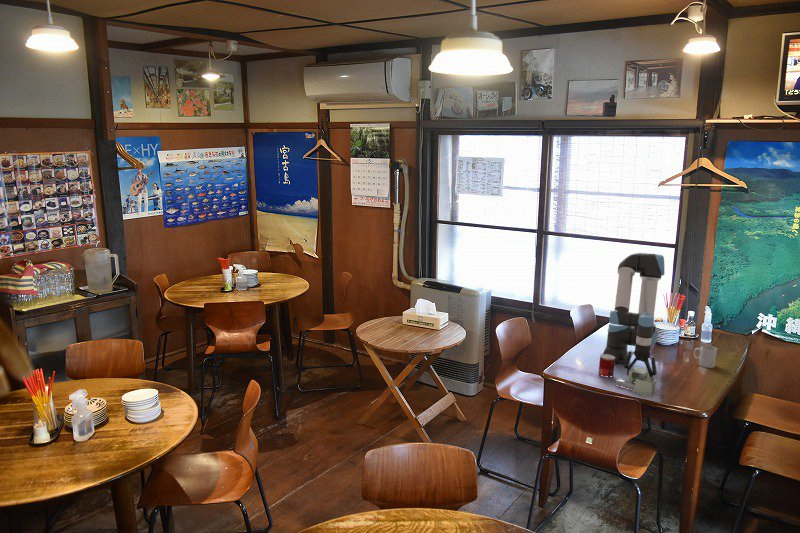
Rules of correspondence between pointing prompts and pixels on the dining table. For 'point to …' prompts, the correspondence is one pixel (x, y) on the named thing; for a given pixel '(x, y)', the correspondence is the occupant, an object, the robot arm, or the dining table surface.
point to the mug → (706, 356)
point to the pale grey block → (639, 385)
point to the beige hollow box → (637, 373)
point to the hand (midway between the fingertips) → (638, 383)
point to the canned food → (606, 365)
